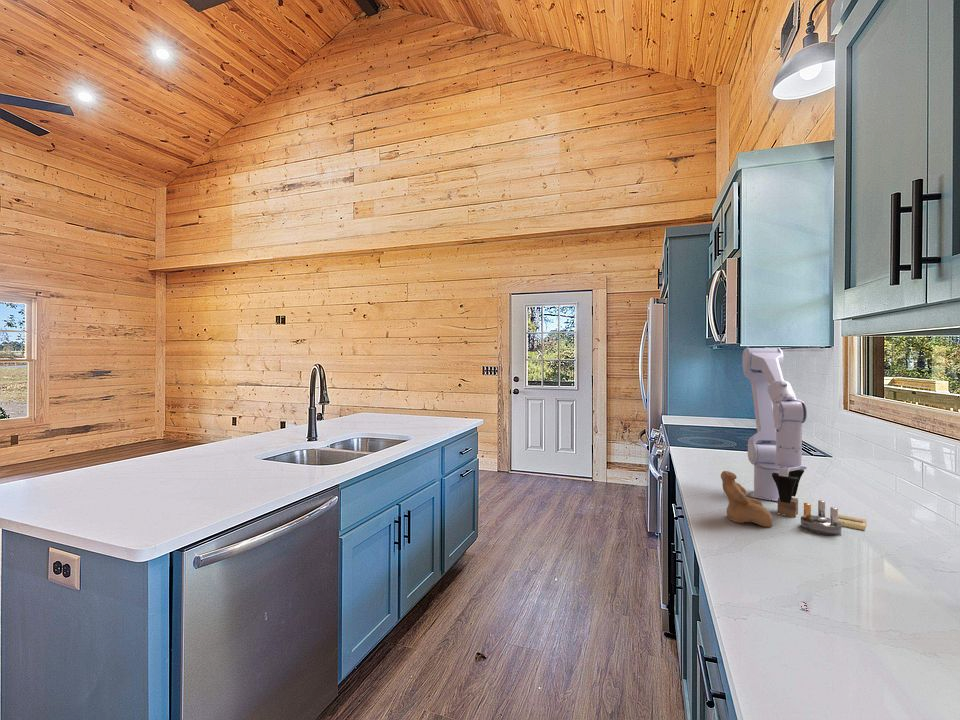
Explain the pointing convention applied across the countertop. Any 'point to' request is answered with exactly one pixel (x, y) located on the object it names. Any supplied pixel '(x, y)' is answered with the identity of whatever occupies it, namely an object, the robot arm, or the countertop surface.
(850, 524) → the pad
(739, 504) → the figurine
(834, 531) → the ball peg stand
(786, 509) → the block
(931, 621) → the countertop surface
